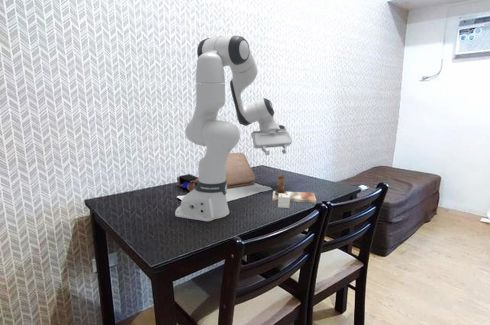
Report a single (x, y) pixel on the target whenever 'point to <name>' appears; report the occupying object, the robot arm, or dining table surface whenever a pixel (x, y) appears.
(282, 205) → the die
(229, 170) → the case
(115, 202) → the dining table surface
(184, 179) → the figurine character
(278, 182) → the pawn
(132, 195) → the dining table surface
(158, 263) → the dining table surface
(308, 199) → the board
